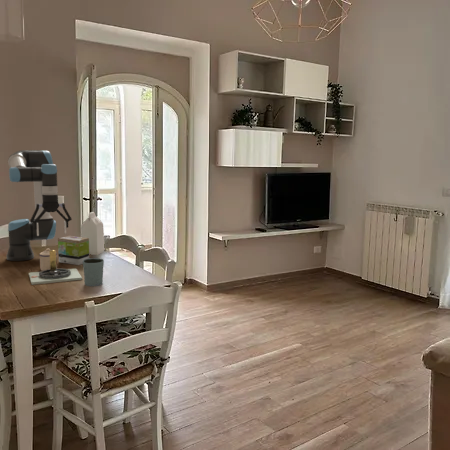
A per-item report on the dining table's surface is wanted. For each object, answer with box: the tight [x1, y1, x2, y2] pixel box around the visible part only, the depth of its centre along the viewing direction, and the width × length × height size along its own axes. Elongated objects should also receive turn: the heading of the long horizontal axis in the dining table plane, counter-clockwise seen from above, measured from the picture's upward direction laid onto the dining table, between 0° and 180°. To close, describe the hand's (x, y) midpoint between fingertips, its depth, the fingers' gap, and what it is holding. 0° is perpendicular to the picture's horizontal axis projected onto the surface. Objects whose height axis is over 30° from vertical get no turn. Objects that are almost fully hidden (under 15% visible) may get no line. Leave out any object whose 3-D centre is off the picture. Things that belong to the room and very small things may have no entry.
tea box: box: [57, 235, 90, 266], centre depth 275 cm, size 15×10×15 cm, turn 68°
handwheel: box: [38, 249, 71, 278], centre depth 243 cm, size 16×15×11 cm
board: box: [28, 268, 83, 285], centre depth 244 cm, size 20×24×1 cm
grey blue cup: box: [82, 257, 105, 287], centre depth 232 cm, size 10×10×12 cm
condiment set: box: [38, 248, 58, 271], centre depth 260 cm, size 12×9×12 cm
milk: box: [80, 211, 106, 256], centre depth 301 cm, size 12×12×26 cm
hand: (51, 234), depth 246 cm, fingers open, 13 cm apart
